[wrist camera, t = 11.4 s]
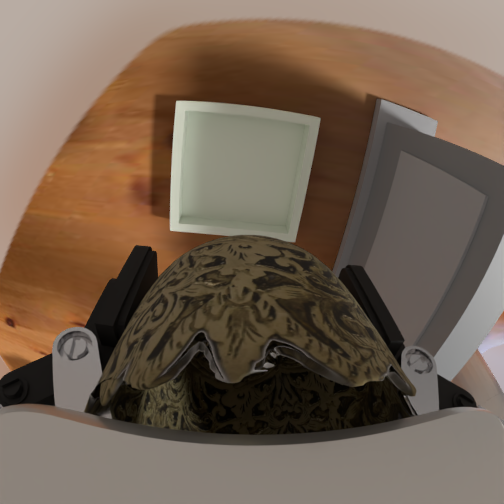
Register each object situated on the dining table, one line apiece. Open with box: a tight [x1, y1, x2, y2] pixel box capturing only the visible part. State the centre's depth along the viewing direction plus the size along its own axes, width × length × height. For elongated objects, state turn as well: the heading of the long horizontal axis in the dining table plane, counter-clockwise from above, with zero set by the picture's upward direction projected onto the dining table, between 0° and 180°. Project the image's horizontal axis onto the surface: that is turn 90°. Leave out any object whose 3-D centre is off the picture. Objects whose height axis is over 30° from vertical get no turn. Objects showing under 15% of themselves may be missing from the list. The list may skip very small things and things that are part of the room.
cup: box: [84, 235, 418, 435], centre depth 8 cm, size 8×7×8 cm
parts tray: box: [170, 100, 321, 242], centre depth 24 cm, size 12×12×2 cm
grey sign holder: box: [332, 99, 504, 381], centre depth 21 cm, size 24×7×17 cm, turn 172°
